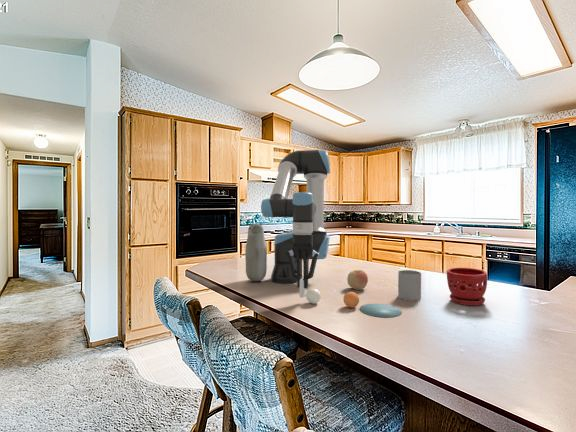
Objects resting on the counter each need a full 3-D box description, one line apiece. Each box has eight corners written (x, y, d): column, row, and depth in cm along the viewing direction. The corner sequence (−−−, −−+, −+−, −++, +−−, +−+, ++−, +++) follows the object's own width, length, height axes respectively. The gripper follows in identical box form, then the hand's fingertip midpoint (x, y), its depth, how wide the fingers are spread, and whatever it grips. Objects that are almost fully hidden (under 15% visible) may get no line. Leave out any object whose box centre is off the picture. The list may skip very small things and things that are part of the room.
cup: (422, 301, 120) (423, 275, 120) (400, 300, 122) (400, 274, 122) (418, 295, 129) (418, 270, 128) (397, 294, 130) (397, 269, 130)
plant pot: (450, 295, 128) (451, 265, 128) (489, 301, 120) (489, 269, 119) (442, 303, 118) (443, 271, 117) (483, 310, 109) (484, 275, 109)
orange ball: (340, 306, 114) (340, 291, 114) (351, 304, 117) (351, 289, 117) (350, 310, 110) (350, 295, 109) (362, 308, 112) (362, 292, 112)
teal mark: (351, 308, 112) (351, 307, 112) (379, 301, 119) (379, 301, 119) (380, 320, 100) (380, 319, 100) (410, 312, 107) (410, 312, 107)
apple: (366, 286, 142) (366, 269, 142) (369, 292, 133) (369, 273, 133) (346, 286, 143) (346, 268, 143) (348, 291, 134) (348, 272, 134)
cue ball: (303, 302, 119) (303, 288, 119) (315, 300, 122) (315, 286, 122) (311, 306, 114) (311, 291, 114) (323, 304, 117) (323, 289, 117)
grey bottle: (243, 280, 156) (242, 223, 155) (262, 278, 160) (262, 222, 159) (249, 284, 147) (248, 224, 146) (269, 282, 151) (269, 223, 150)
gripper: (282, 233, 117) (282, 297, 118) (316, 235, 112) (316, 301, 113) (290, 232, 124) (290, 292, 125) (322, 233, 119) (322, 295, 120)
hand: (302, 296), depth 119 cm, fingers closed
